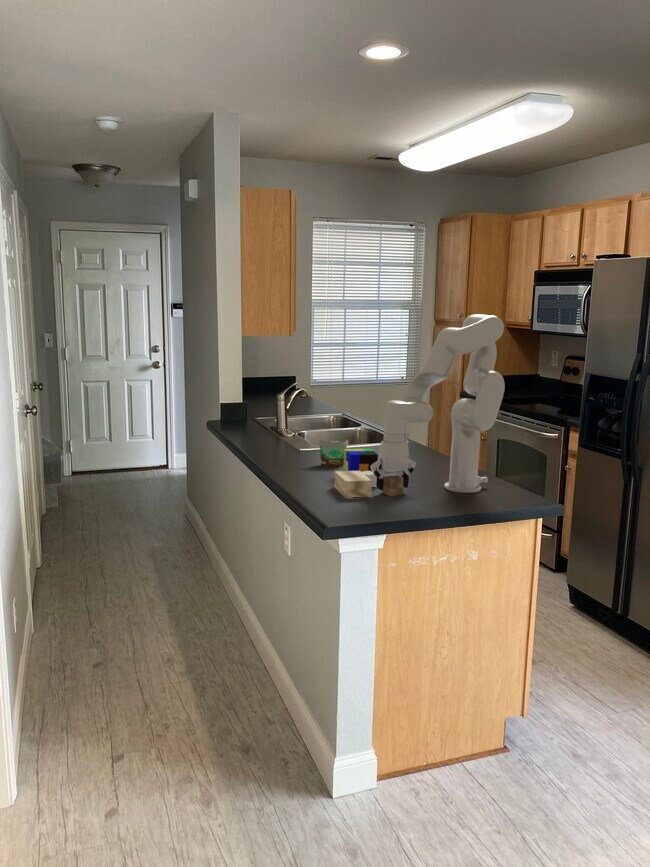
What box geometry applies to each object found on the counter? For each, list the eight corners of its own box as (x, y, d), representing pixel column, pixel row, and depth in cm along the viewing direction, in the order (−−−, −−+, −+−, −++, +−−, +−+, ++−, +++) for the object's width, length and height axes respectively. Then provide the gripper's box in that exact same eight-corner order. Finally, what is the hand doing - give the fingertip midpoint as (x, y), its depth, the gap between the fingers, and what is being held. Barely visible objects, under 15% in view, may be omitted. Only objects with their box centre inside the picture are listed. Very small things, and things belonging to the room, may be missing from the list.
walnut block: (394, 491, 243) (395, 474, 242) (402, 495, 239) (403, 477, 238) (381, 492, 241) (382, 475, 240) (389, 496, 237) (390, 478, 235)
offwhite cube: (367, 484, 252) (368, 470, 251) (378, 487, 248) (378, 473, 247) (357, 486, 248) (358, 472, 247) (368, 489, 245) (368, 475, 244)
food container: (323, 468, 273) (324, 442, 271) (317, 465, 278) (318, 439, 277) (352, 466, 277) (353, 441, 276) (346, 463, 283) (347, 438, 281)
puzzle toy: (349, 482, 253) (350, 454, 251) (343, 475, 263) (344, 449, 261) (376, 482, 255) (378, 454, 253) (369, 475, 265) (370, 448, 263)
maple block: (359, 487, 247) (360, 470, 246) (371, 498, 234) (372, 480, 233) (334, 488, 245) (334, 471, 244) (344, 499, 232) (345, 481, 231)
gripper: (410, 434, 244) (407, 483, 247) (366, 437, 236) (364, 487, 239) (423, 438, 237) (420, 488, 240) (378, 441, 229) (375, 493, 232)
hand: (392, 488), depth 239 cm, fingers open, 9 cm apart
